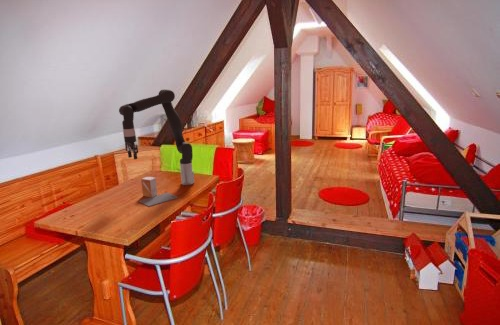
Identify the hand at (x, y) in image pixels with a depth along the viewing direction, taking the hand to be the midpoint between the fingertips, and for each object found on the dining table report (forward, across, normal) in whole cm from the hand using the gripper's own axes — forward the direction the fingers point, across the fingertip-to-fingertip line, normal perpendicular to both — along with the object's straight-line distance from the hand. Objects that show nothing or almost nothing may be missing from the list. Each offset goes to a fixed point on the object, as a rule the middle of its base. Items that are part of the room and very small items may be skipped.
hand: (132, 158), depth 211 cm
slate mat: (+28, -18, -6) cm, 34 cm away
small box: (+28, -6, -6) cm, 30 cm away
